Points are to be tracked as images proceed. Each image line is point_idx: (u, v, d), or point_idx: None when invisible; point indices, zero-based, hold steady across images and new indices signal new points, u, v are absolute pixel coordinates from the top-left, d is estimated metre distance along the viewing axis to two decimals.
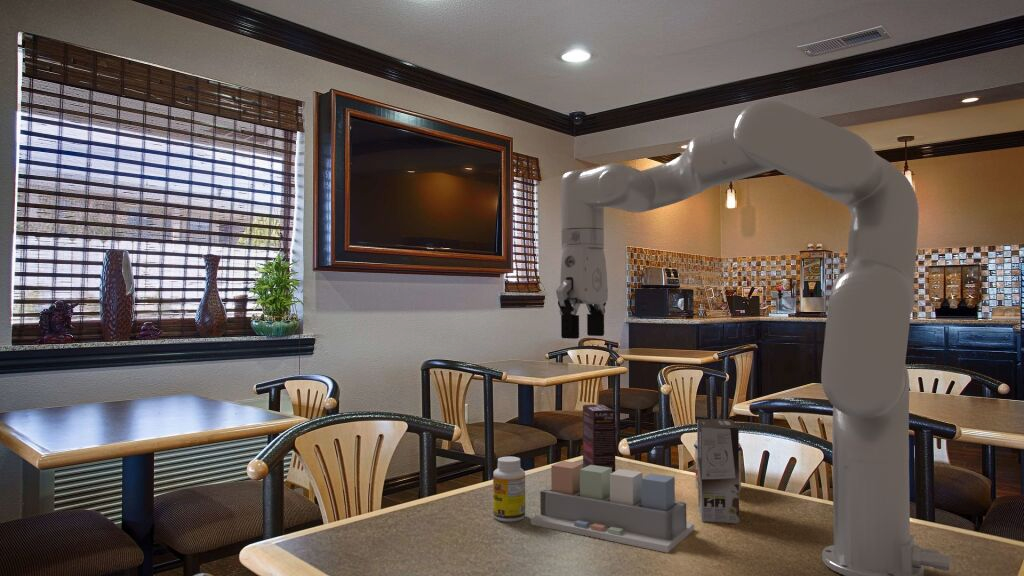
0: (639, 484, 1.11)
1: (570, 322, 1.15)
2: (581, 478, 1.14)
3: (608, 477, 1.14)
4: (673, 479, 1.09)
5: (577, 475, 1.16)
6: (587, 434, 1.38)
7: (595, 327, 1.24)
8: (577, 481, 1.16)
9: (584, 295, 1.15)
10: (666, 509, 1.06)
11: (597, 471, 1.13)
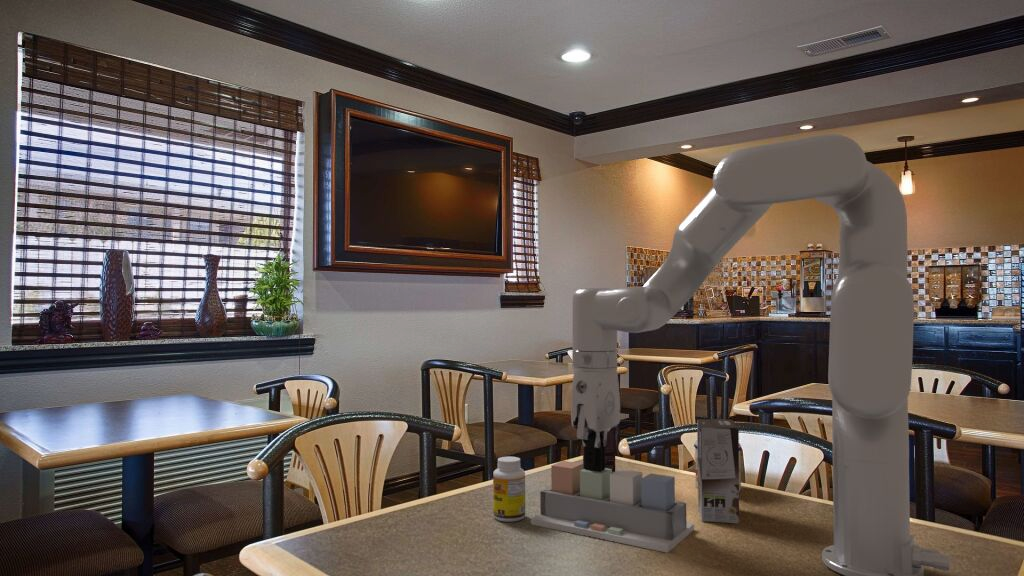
0: (639, 484, 1.11)
1: (593, 455, 1.13)
2: (581, 479, 1.14)
3: (608, 479, 1.14)
4: (673, 479, 1.09)
5: (577, 475, 1.16)
6: None
7: None
8: (577, 481, 1.16)
9: (596, 424, 1.09)
10: (666, 509, 1.06)
11: (597, 472, 1.13)
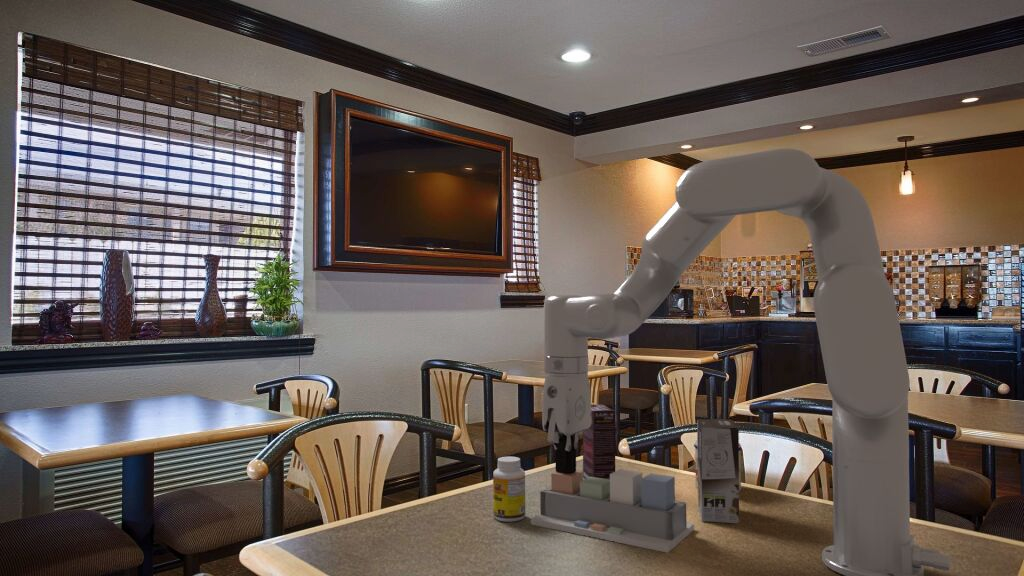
0: (639, 484, 1.11)
1: (564, 458, 1.16)
2: (581, 490, 1.14)
3: (608, 490, 1.14)
4: (673, 479, 1.09)
5: (577, 483, 1.16)
6: (587, 434, 1.38)
7: None
8: (577, 489, 1.16)
9: (566, 428, 1.12)
10: (666, 509, 1.06)
11: (597, 483, 1.13)
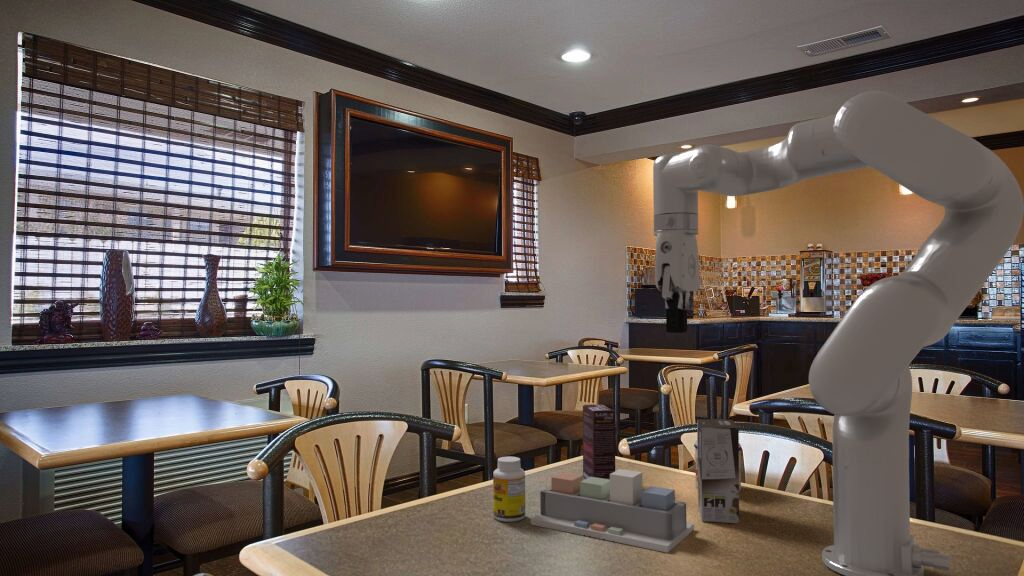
0: (639, 484, 1.11)
1: (677, 316, 1.16)
2: (581, 490, 1.14)
3: (608, 490, 1.14)
4: (673, 492, 1.09)
5: (577, 487, 1.16)
6: (587, 434, 1.38)
7: None
8: None
9: (682, 282, 1.12)
10: None
11: (597, 483, 1.13)
